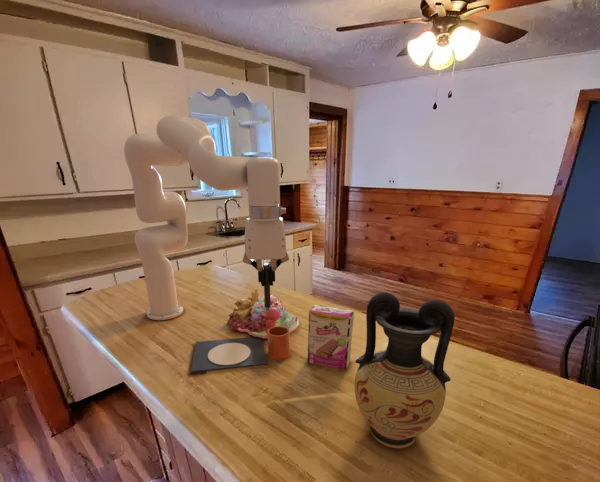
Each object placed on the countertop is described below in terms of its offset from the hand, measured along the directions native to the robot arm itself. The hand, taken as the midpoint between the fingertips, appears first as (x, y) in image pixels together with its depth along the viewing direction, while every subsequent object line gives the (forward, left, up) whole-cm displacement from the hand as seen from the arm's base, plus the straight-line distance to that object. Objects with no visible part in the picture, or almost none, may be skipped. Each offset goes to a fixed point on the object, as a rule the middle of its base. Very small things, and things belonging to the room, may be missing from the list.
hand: (266, 283), depth 89 cm
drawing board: (-3, -11, -22) cm, 25 cm away
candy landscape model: (-21, +1, -22) cm, 31 cm away
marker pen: (0, 0, -8) cm, 8 cm away
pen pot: (0, +3, -22) cm, 22 cm away
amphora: (+34, +22, -22) cm, 46 cm away
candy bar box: (+7, +16, -22) cm, 28 cm away
